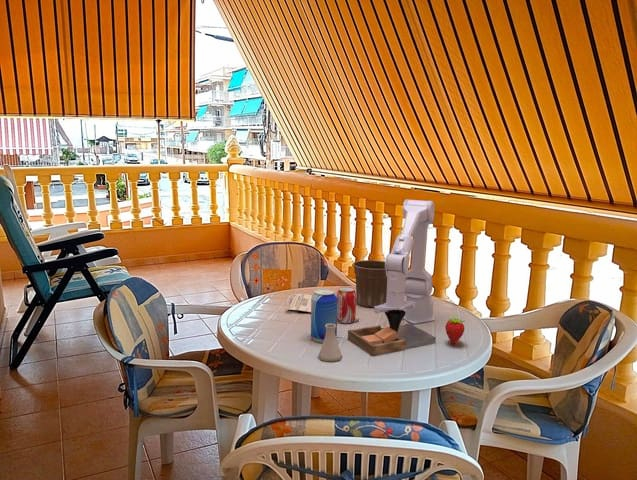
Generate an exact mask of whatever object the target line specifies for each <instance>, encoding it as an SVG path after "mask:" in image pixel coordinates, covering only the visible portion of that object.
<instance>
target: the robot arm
mask: <svg viewBox="0 0 637 480" xmlns="http://www.w3.org/2000/svg"><path fill="white" fill-rule="evenodd" d="M435 208H436V207H435V204H434V201H433V200H418V199H405V200H404V201H403V205H402V215H403V219H404V222H403V225H402V230H401V234H398V235H397V237H396V238H395V241H394V243H393V246H392V248H391V251H390V253H389V254H387V255H386V257H385V259H384V260H385V261H384V262H385V269H386V276H387V297H386V303H384V304H381V305H378V306H374V309H373V312H374V313H375V314H376V315H379V314H381V313H384V314H385V316H386V319H387V322H388V325H389V327H390V328H391V329H393V330H394V331H396V333H397V332H398V329H399V326H400V325H401V324H402V323H401V322H402V321H403V320H405V321H407V322H408V323H409V324H411V325H415V324H421V323H426V322H432V321H435V319H434V299H433V297H432V296H431V294H432V292H433V276H432V274H430V273H429V272H428V271H427V270H426V256H427V242H428V241H427V240H428V231H429V230H428V229H429V225H431V224H433V223H434V218H435ZM411 251H412V252H411ZM410 255H411V257H410ZM410 261H411V265H410ZM409 266H411V267H410V269H409ZM405 297H406V298H405Z"/></svg>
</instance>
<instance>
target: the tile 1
mask: <svg viewBox="0 0 637 480" xmlns="http://www.w3.org/2000/svg"><path fill="white" fill-rule="evenodd" d="M362 338H364V339H365V340H367V341H369V342H370V343H372V344H373V345H377V344H382V342H383V340H382V339H381V338H379V337H377V336H376V335H368V336H362Z"/></svg>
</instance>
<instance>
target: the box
mask: <svg viewBox="0 0 637 480" xmlns="http://www.w3.org/2000/svg"><path fill="white" fill-rule="evenodd" d="M381 328H382V326H381V325H379V324H378V325H373V326H365V327H360V328H355V329H348V330H347V340H348V341H349V342H352V343H353V344H354V345H356V346H357V347H359V348H360V349H362V350H363V351H364V352H365V353H367V354H369V355H370V356H372V357H376V356H379V355H387V354H391V353H396V352H401V351H405V350H407V349H406V340H398V341H393V342H387V343H382V344H377V345H373V344H372V343H370V342H369V341H367V340H365V339H364V338H362V336H368V335H375V333H377V332H379V331H380V330H381Z"/></svg>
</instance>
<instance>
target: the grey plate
mask: <svg viewBox="0 0 637 480" xmlns="http://www.w3.org/2000/svg"><path fill="white" fill-rule="evenodd" d="M388 327H389V328H390V326H388ZM383 328H384V327H381V330H382V329H383ZM397 336H398V338H397V339H395V340H393V341H398V340H406V350H407V349H412V348H417V347H423V346H427V345H432V344H436V339H437V338H436V336H434V335H432V334H430V333H428V332H426V331H424V330H423V329H421V328H419V327H417V326H415V325H414V324H412V323H404V324H400V326H399V329H398V332H397ZM393 341H392V342H393Z"/></svg>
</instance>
